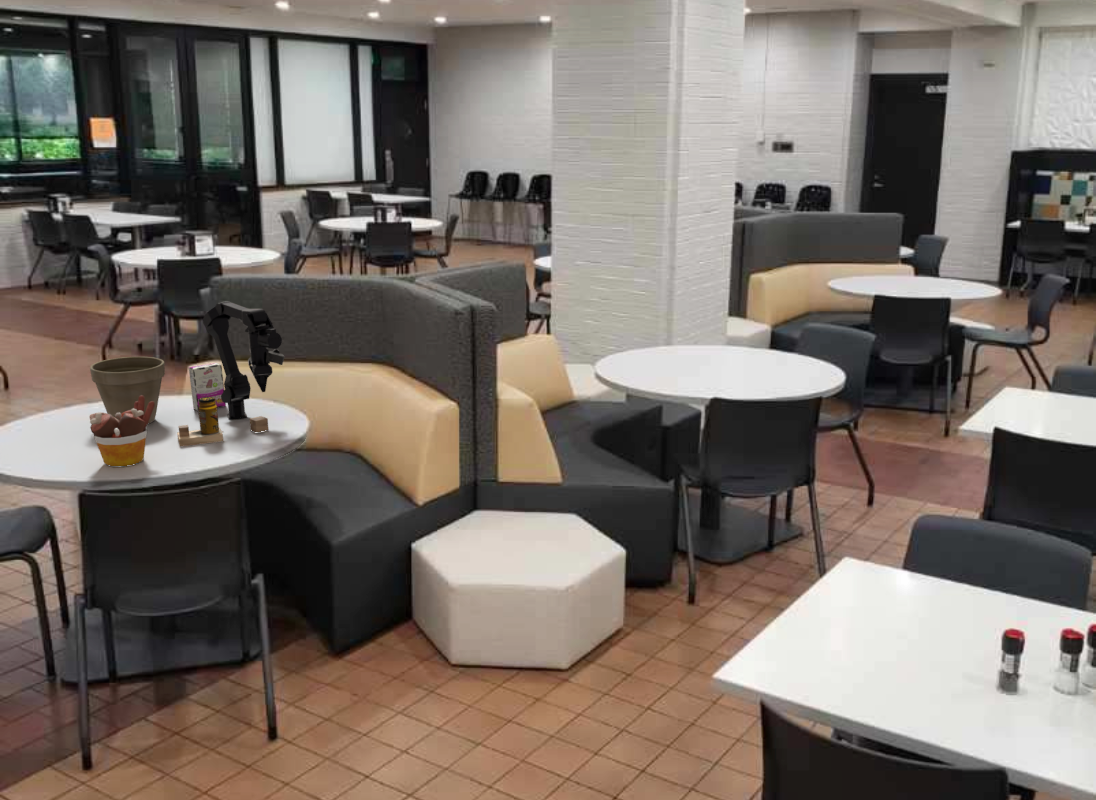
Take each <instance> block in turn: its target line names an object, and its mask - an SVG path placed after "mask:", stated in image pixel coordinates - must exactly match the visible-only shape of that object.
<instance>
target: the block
mask: <svg viewBox="0 0 1096 800" xmlns="http://www.w3.org/2000/svg"><path fill="white" fill-rule="evenodd" d="M268 419H269V418H268V417H265V416H262V415H260V416H256V417H250V418H249V426H250V428H249V429H250V431H251V430H252V431H254V432H253V433H255V432H261V431H265V430H269V421H268ZM252 431H251V432H252ZM265 432H266V431H265ZM261 433H262V432H261Z"/></svg>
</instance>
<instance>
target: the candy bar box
mask: <svg viewBox="0 0 1096 800" xmlns="http://www.w3.org/2000/svg"><path fill="white" fill-rule="evenodd" d="M188 374H189V383H190V389H191V390H190V391H191V399H192V406H193V410H194V409H195V411H196V410H197V411H196V412H199V411H198V407H199V399H200V398H202V397H214V398H215V404H216V406H217V409H218V407H219V408H223V406H224V407H226V405H227V403H225V402H222V399H221V395H222V393H223V392H224V390H225V387H224V377H223V365H222V363H219V362H213V363H212V362H211V363H205V364H200V365H195V366H194V365H193V366H189V367H188Z"/></svg>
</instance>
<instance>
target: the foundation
mask: <svg viewBox="0 0 1096 800" xmlns="http://www.w3.org/2000/svg"><path fill="white" fill-rule="evenodd" d="M219 430H220V431H222V430H221V427H219ZM197 431H200V429H195V430H190V429H189V424H184V425H183V424H181V425H178V432H177V441H178V444H179V447H187V446H188V447H189V446H195V445H203V444H205V445H206V444H213V443H220V442H221V441H222V442H224V435H223V433H219V434H214V435H209V436H205V437H198V436H196V435H194V434H192V433H191V432H197ZM222 442H221V443H222Z"/></svg>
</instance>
